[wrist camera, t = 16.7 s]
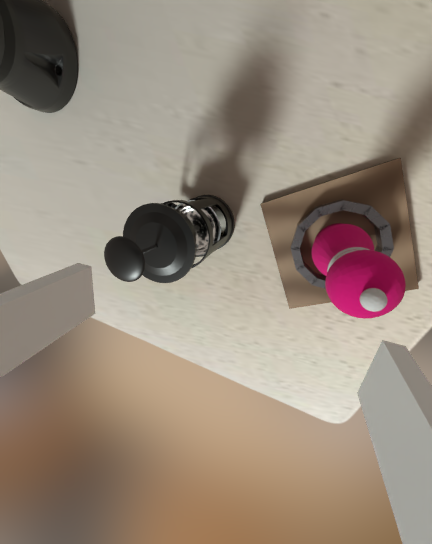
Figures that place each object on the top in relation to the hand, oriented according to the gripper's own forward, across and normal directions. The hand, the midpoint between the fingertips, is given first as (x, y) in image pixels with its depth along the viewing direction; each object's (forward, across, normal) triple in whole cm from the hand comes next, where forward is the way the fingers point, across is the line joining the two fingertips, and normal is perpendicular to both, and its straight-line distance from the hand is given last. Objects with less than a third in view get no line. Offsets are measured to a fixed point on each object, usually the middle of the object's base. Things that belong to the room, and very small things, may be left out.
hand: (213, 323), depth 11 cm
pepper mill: (+29, +10, -2) cm, 31 cm away
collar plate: (+31, +10, -2) cm, 32 cm away
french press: (+31, -11, -2) cm, 33 cm away
